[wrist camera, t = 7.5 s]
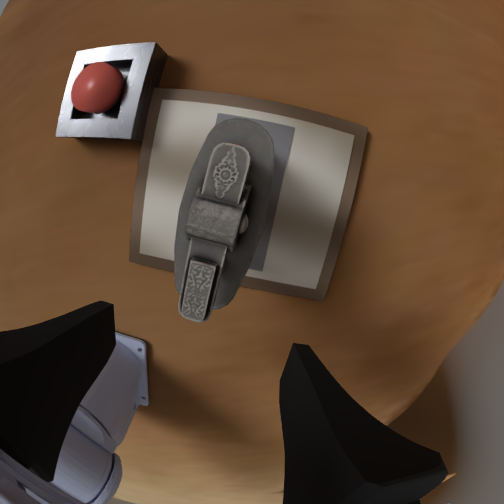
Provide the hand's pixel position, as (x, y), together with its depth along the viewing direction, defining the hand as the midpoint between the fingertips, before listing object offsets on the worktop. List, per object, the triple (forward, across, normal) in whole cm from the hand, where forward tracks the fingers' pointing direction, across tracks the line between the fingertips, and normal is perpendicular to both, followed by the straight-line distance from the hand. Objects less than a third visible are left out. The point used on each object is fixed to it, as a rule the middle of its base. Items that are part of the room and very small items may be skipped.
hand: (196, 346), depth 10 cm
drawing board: (+10, 0, -5) cm, 11 cm away
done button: (+8, +11, -11) cm, 18 cm away
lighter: (+10, 0, -5) cm, 11 cm away
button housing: (+10, +11, -11) cm, 19 cm away
